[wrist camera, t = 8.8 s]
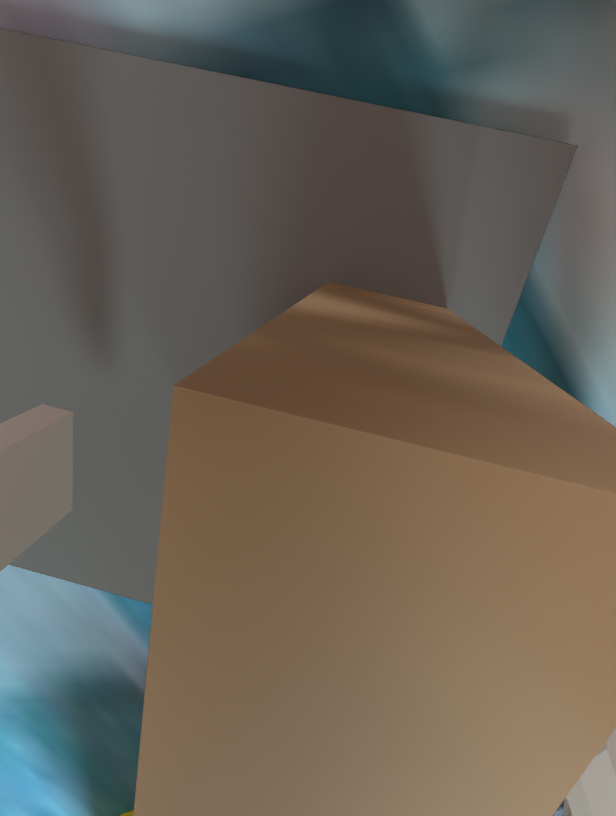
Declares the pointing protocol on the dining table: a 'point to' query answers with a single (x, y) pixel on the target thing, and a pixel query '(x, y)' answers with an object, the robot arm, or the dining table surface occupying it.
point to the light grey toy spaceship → (595, 785)
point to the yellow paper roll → (128, 813)
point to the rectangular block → (378, 575)
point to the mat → (216, 250)
